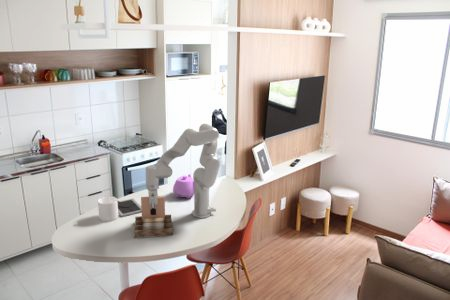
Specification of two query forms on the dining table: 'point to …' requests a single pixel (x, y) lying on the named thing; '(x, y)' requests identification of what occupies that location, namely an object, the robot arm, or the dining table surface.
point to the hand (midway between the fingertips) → (153, 213)
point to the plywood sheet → (159, 208)
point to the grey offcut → (153, 226)
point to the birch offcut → (153, 220)
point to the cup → (108, 208)
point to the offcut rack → (153, 232)
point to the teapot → (184, 187)
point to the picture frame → (128, 208)
